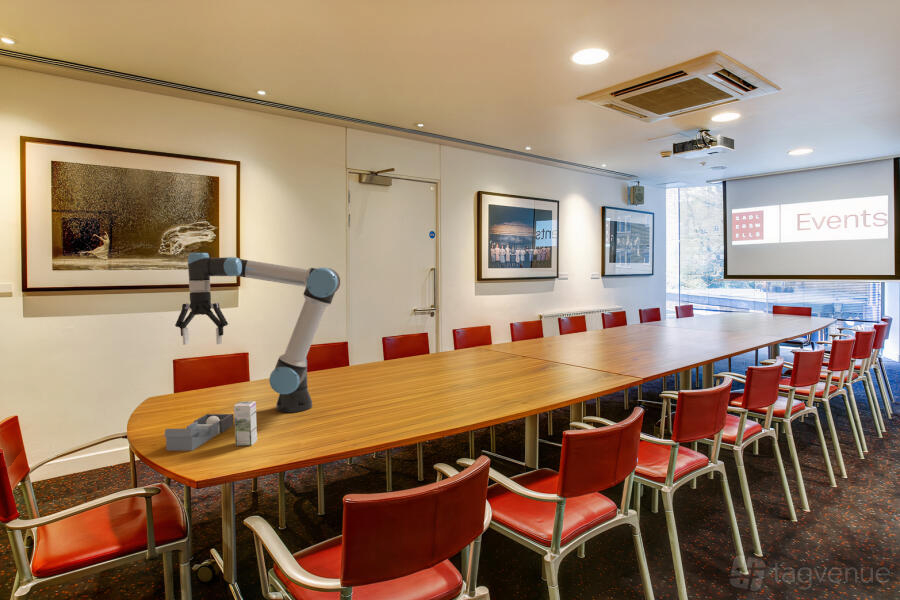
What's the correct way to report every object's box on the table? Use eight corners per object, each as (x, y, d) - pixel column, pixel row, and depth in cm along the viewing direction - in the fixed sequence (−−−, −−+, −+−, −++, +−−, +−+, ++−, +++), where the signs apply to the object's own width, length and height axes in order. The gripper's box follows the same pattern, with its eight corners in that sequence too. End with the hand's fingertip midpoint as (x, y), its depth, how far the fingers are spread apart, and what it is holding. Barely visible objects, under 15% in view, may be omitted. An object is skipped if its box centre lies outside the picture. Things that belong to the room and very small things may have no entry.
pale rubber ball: (221, 413, 187) (223, 424, 189) (208, 413, 188) (211, 424, 189) (214, 420, 183) (217, 431, 184) (201, 420, 183) (204, 431, 184)
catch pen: (221, 432, 182) (221, 421, 182) (194, 432, 183) (193, 421, 183) (233, 425, 191) (233, 413, 191) (207, 425, 192) (206, 414, 192)
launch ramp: (190, 451, 164) (189, 429, 163) (164, 451, 164) (163, 429, 163) (219, 432, 182) (218, 413, 182) (196, 432, 183) (195, 413, 182)
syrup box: (257, 440, 174) (256, 400, 173) (251, 446, 168) (250, 404, 167) (241, 440, 174) (240, 400, 173) (235, 446, 168) (233, 405, 167)
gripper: (235, 290, 198) (237, 342, 199) (175, 291, 198) (177, 342, 200) (226, 291, 190) (228, 344, 191) (163, 292, 191) (166, 345, 192)
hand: (202, 344), depth 195 cm, fingers open, 13 cm apart
